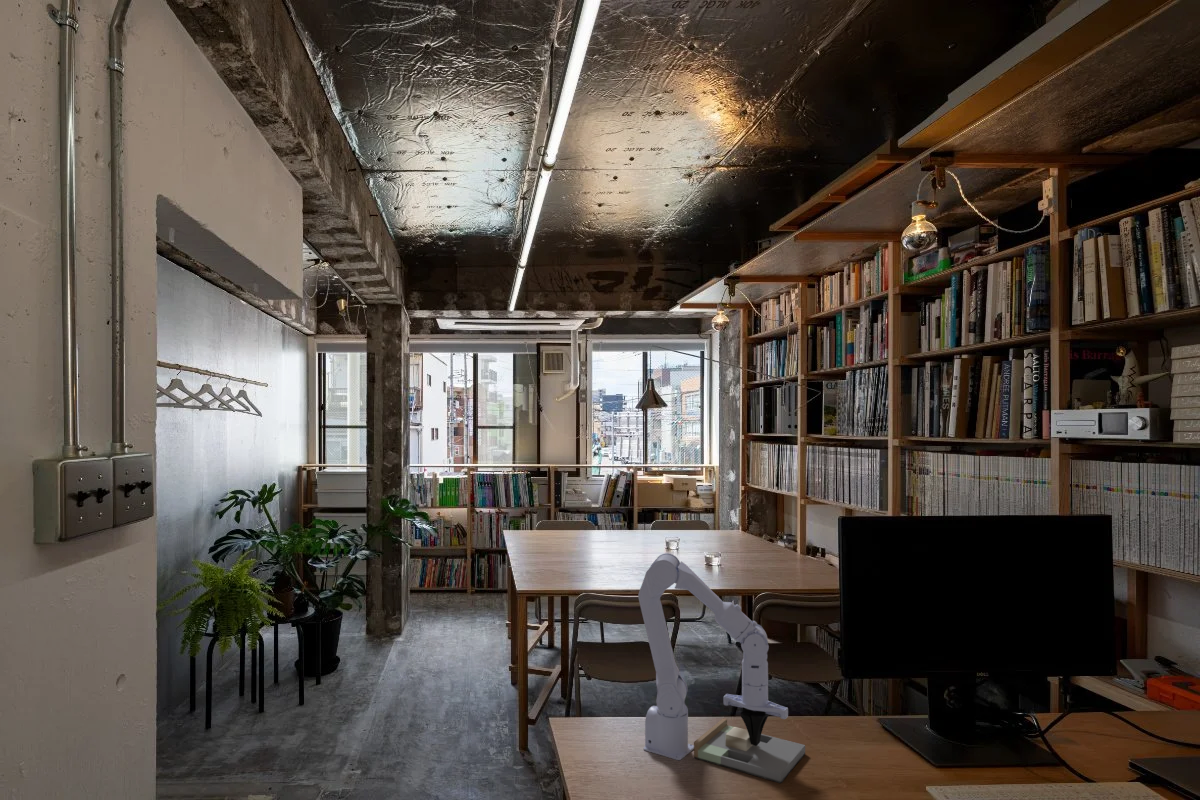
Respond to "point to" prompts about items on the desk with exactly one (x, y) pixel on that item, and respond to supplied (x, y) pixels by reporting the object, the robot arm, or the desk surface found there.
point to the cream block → (738, 739)
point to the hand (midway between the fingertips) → (755, 743)
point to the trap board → (749, 754)
